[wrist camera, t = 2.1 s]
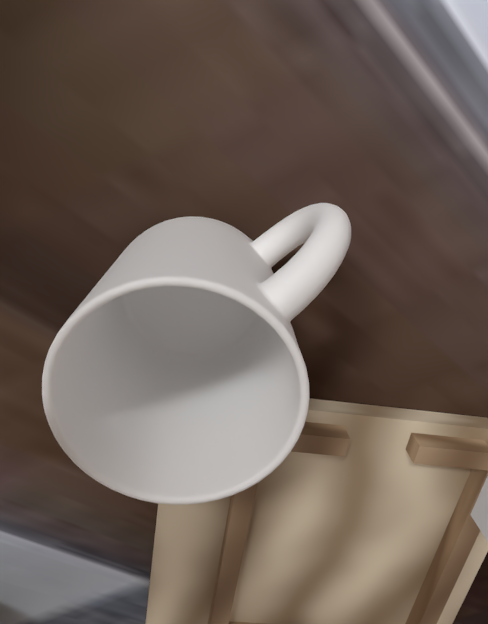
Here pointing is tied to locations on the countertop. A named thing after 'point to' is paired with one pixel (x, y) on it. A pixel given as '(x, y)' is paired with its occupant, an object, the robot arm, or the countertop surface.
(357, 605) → the board
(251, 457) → the mug
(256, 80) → the countertop surface
